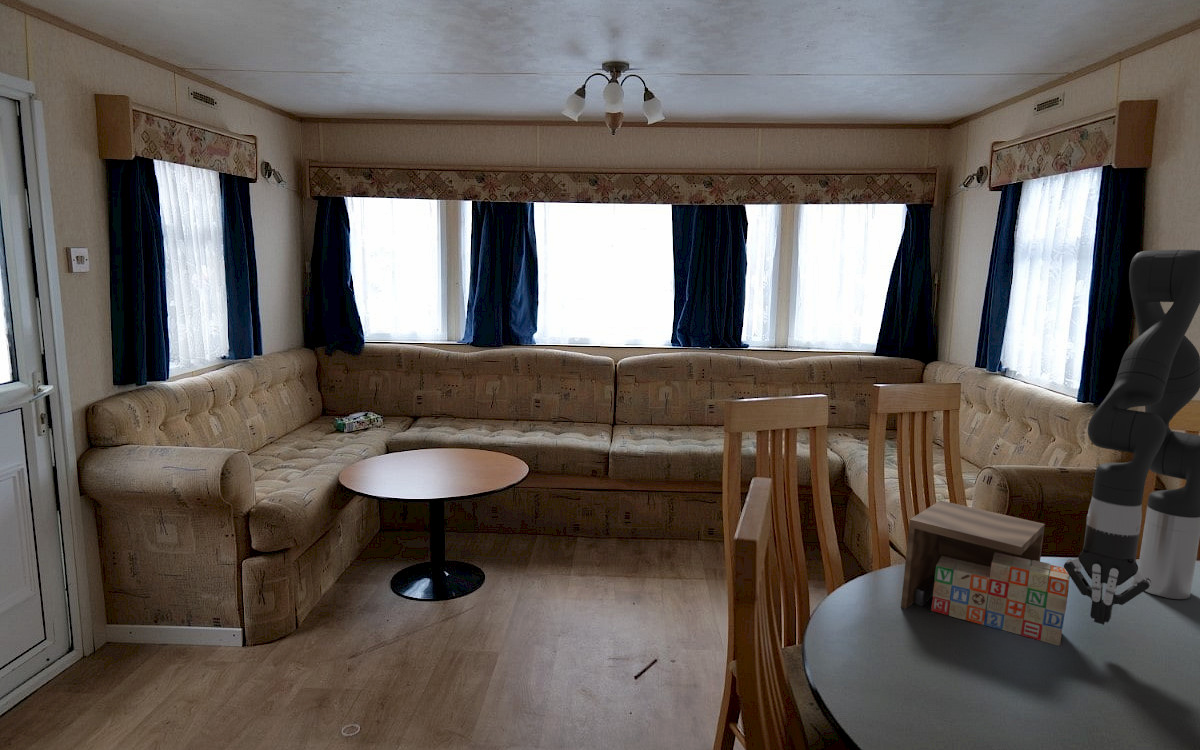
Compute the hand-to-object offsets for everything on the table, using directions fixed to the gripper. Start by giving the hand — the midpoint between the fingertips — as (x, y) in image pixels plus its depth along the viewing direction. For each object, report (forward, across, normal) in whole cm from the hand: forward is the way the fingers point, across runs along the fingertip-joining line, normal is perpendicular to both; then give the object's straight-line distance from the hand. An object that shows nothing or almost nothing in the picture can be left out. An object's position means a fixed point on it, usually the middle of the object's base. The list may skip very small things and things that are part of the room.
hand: (1099, 621), depth 133 cm
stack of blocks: (+5, +16, +2) cm, 17 cm away
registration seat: (+5, +29, 0) cm, 29 cm away
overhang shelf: (+5, +21, 0) cm, 21 cm away
